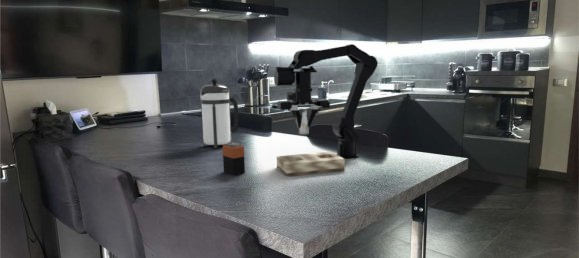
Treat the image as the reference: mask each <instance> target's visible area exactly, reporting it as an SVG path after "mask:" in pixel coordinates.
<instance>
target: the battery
mask: <svg viewBox="0 0 579 258" xmlns="http://www.w3.org/2000/svg"><path fill="white" fill-rule="evenodd" d="M222 163H223V172H225V173H227V174H231V175H234V176H238V175H241V174H245V172H246V168H245V167H246V166H245V147H244V146H243V145H241V144H240V143H239V142H234V143H233V142H232V141H230V142H229V143H227V144H222Z"/></svg>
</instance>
